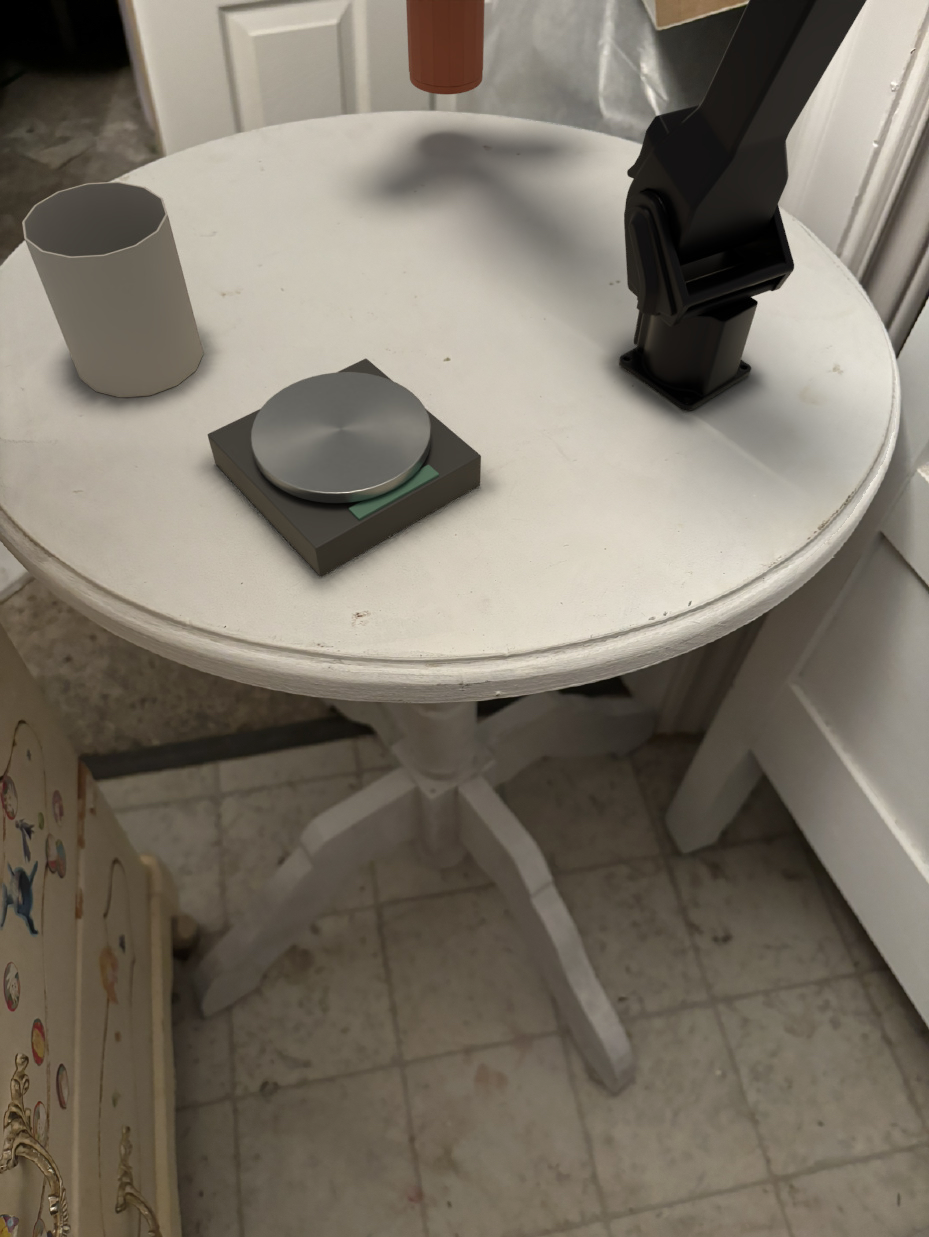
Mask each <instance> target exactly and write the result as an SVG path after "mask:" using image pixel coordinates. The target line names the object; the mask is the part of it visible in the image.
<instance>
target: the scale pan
mask: <svg viewBox="0 0 929 1237" xmlns="http://www.w3.org/2000/svg"><path fill="white" fill-rule="evenodd" d="M336 372H337V373H336ZM336 372H329V373H322V374H318V375H313V376H310V377H306V378H303V379H301V380H298V381H296V382H293V383H292V384H289V385H288V386H285V387H284V388H282V389H280V390H279V391H277V392H276V393H275V394H274V395H272V396H271V397H270V398H269V399H267V401H266V402H265V403H264V404H263V405H262V406H261V407H260V408H259V409H260V411H259V412H258V414H257V415H256V418H255V420H254V422H253V425H252V429H251V447H252V451H253V455H254V458H255V461H256V464H257V466H258V467H259V469H260V471H261V472H262V473H263V475H264V476H265V477H266V478H267V479H268V480H269V481H270V482H271V483H272V484H274V485H275V486H277V487H278V488H280V489H281V490H283V491H285V492H287V493H289V494H291V495H293V496H296V497H299V498H302V499H306V500H310V501H315V502H323V503H350V502H356V501H363V500H366V499H370V498H374V497H377V496H380V495H382V494H385V493H387V492H389V491H391V490H393V489H395V488H397V487H399V486H400V485H402V484H403V483H405V482H406V481H407V480H409V479H410V478H411V477H412V476H413V475H414V474H415V473H416V472H417V471H418V470H419V469H420V467H421V466H422V464H423V463H424V461H425V459H426V457H427V455H428V453H429V449H430V446H431V424H430V419H429V415H428V413H427V411H426V409H427V408H426V407H425V405H424V404H423V403H422V401H421V400H420V398H418V397H417V396H416V394H414V392H412V391H411V390H409V389H408V388H407V387H405V386H403V385H402V384H400V383H398V382H396V381H394V380H392V379H391V380H392V381H391V380H389V379H386V378H383V377H380V376H376V375H371V374H366V373H357V372H338V371H336Z"/></svg>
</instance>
